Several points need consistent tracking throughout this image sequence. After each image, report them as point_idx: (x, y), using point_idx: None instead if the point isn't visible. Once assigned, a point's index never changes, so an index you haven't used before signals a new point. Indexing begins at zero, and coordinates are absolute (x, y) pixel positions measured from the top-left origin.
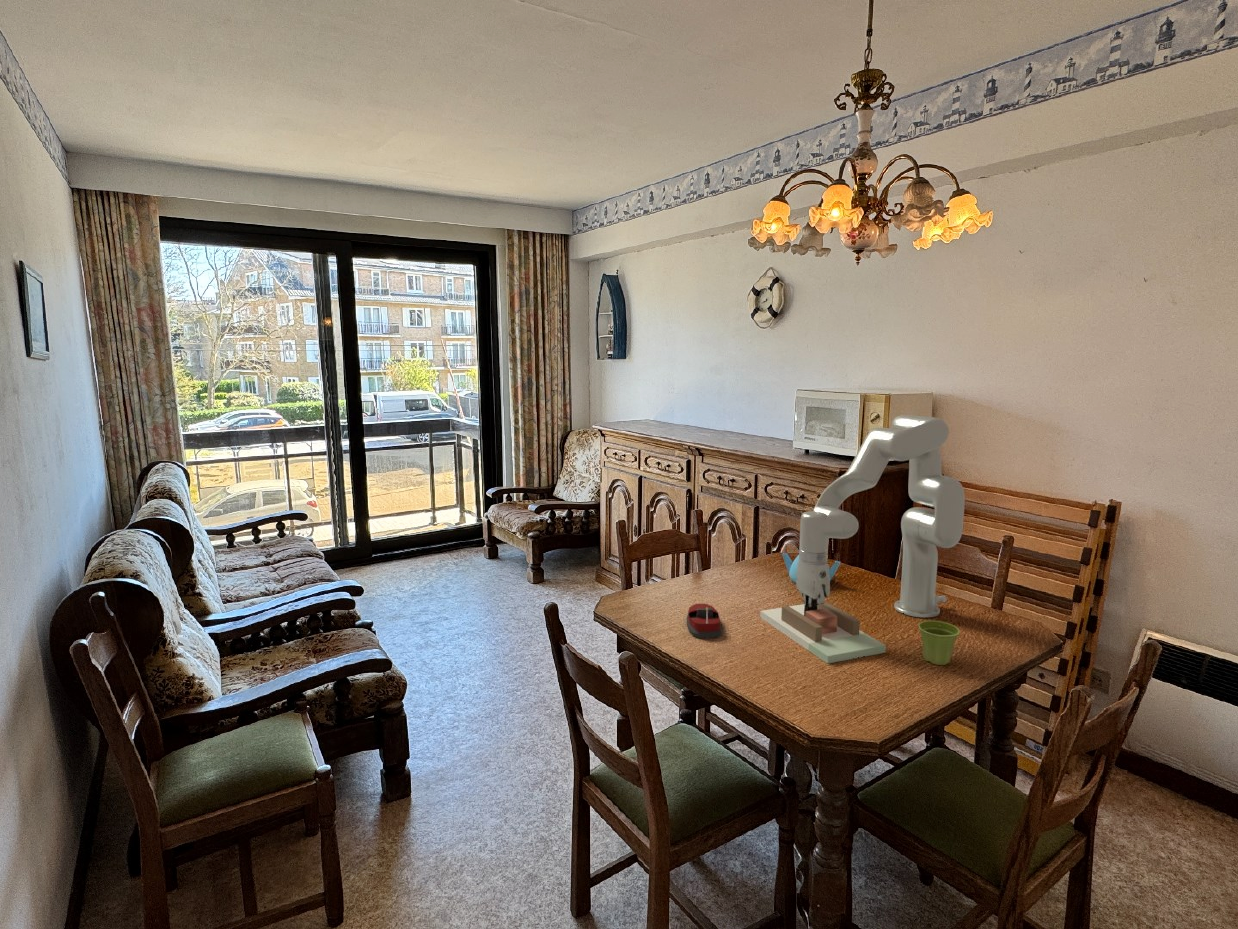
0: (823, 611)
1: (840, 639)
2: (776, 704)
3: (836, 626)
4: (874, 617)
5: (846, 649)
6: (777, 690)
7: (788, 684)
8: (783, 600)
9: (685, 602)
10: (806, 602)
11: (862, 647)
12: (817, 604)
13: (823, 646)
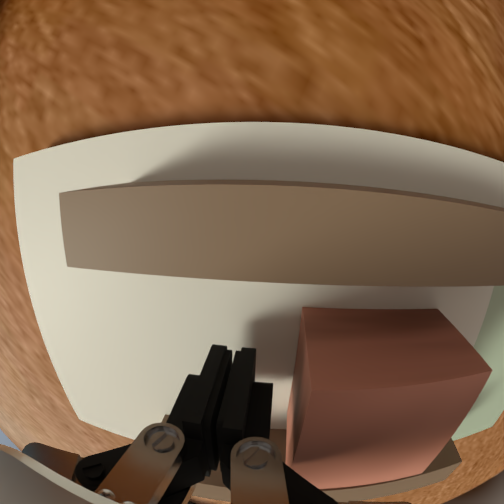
0: (366, 424)
1: (486, 341)
2: (461, 490)
3: (453, 329)
4: None
5: None
6: (446, 490)
7: (452, 480)
8: None
9: (30, 433)
10: (195, 485)
11: None
12: (297, 480)
13: (463, 421)
